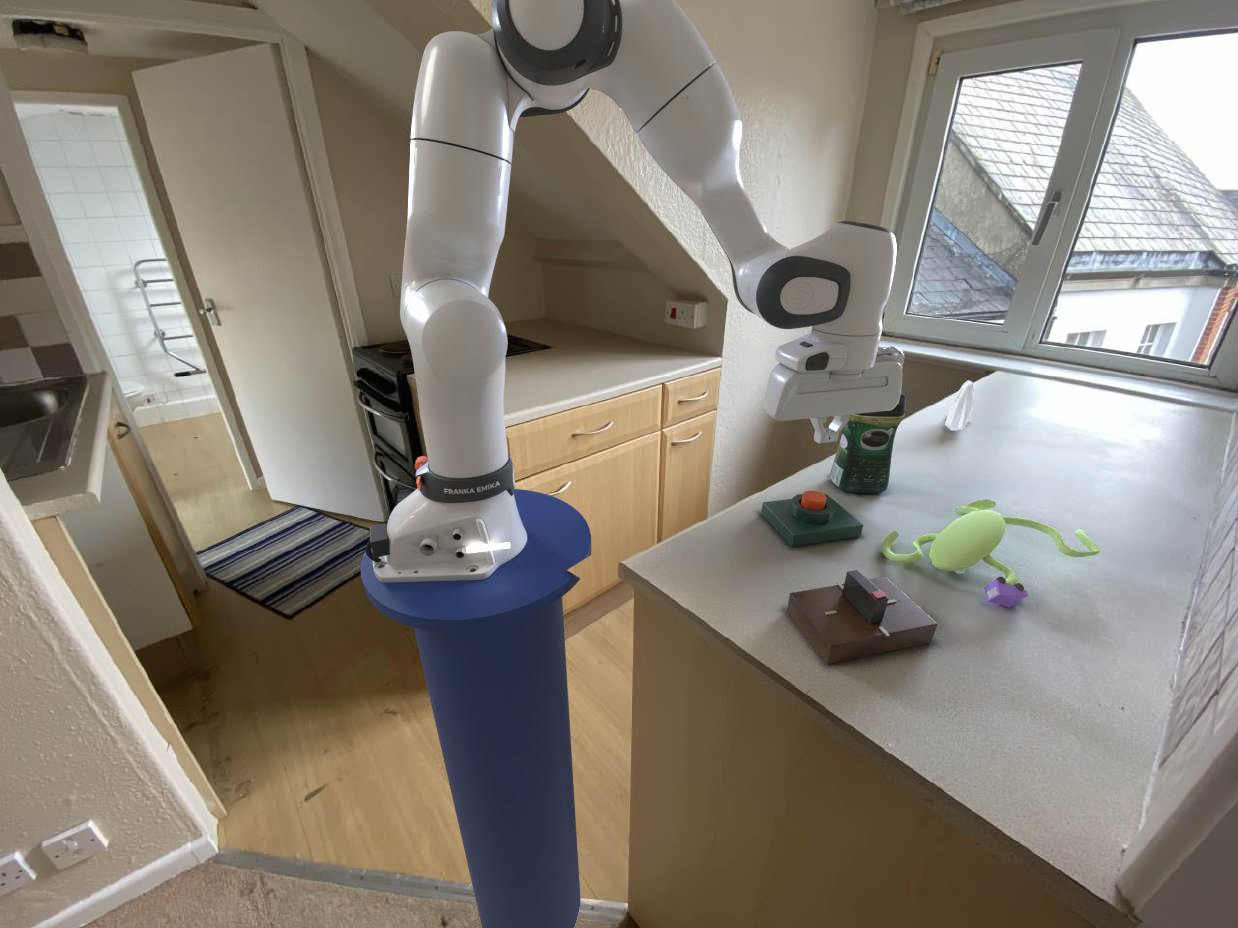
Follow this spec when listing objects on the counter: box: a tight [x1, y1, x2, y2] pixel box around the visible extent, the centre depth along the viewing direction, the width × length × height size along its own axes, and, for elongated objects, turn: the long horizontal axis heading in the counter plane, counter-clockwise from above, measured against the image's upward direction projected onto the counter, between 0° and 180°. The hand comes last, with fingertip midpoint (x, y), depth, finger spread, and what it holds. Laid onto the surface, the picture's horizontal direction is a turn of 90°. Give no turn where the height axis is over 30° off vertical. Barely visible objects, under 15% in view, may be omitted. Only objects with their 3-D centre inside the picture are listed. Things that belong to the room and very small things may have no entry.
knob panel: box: [786, 576, 938, 665], centre depth 65 cm, size 14×10×3 cm
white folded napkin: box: [944, 380, 976, 432], centre depth 121 cm, size 12×4×11 cm, turn 143°
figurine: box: [881, 499, 1102, 608], centre depth 76 cm, size 18×27×6 cm
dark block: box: [842, 569, 888, 624], centre depth 63 cm, size 6×2×4 cm, turn 14°
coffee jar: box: [829, 391, 907, 494], centre depth 94 cm, size 10×8×19 cm
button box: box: [760, 493, 864, 548], centre depth 85 cm, size 12×10×4 cm
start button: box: [801, 490, 826, 511], centre depth 84 cm, size 4×4×2 cm
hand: (825, 441), depth 79 cm, fingers closed
